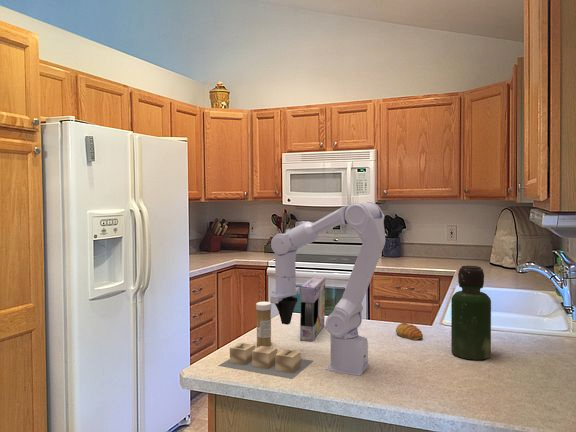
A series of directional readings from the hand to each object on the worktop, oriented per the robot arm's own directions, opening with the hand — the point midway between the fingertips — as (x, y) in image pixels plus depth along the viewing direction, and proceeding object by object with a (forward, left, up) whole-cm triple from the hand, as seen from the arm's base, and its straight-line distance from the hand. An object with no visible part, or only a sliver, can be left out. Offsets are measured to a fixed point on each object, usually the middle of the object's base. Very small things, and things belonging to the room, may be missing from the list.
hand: (286, 323), depth 131 cm
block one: (-5, +9, -9) cm, 14 cm away
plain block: (+2, +9, -9) cm, 13 cm away
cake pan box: (+2, -24, -10) cm, 26 cm away
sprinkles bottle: (+10, -5, -10) cm, 15 cm away
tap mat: (+2, +8, -9) cm, 13 cm away
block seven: (+9, +9, -9) cm, 16 cm away
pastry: (-28, -34, -10) cm, 45 cm away
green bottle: (-47, -23, -10) cm, 53 cm away
